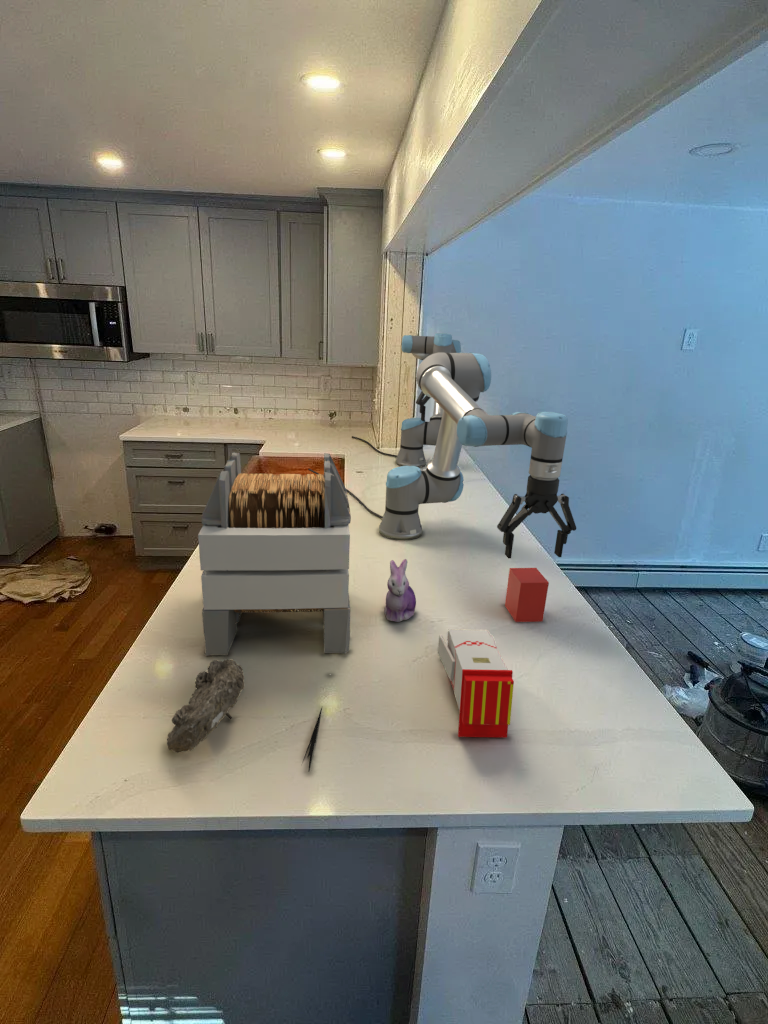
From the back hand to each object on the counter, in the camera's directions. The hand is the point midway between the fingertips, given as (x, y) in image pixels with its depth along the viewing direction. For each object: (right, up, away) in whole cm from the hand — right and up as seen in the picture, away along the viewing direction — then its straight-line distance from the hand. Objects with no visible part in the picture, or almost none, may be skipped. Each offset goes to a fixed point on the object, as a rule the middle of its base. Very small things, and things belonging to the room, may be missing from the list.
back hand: (436, 420), depth 250 cm
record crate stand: (-49, -67, -107) cm, 135 cm away
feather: (-36, -80, -141) cm, 166 cm away
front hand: (+15, -52, -104) cm, 117 cm away
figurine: (-19, -67, -103) cm, 124 cm away
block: (+14, -67, -99) cm, 121 cm away
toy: (-5, -78, -131) cm, 153 cm away
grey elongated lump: (-56, -80, -142) cm, 172 cm away
